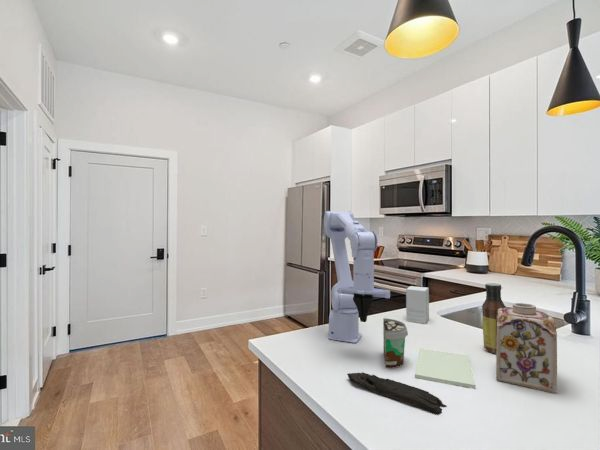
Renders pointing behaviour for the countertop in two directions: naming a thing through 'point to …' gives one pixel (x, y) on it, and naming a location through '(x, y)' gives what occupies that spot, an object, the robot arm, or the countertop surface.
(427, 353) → the board
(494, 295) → the sauce bottle
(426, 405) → the wood
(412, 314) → the supplement box
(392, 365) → the food container
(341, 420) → the countertop surface
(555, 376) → the decorative jar
